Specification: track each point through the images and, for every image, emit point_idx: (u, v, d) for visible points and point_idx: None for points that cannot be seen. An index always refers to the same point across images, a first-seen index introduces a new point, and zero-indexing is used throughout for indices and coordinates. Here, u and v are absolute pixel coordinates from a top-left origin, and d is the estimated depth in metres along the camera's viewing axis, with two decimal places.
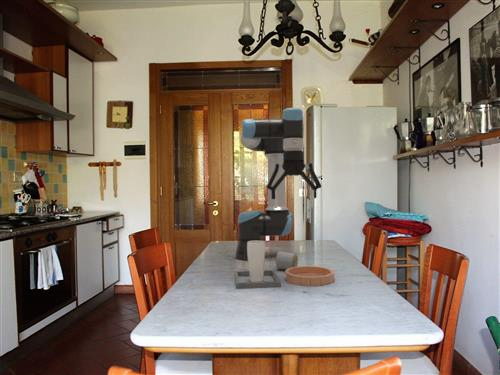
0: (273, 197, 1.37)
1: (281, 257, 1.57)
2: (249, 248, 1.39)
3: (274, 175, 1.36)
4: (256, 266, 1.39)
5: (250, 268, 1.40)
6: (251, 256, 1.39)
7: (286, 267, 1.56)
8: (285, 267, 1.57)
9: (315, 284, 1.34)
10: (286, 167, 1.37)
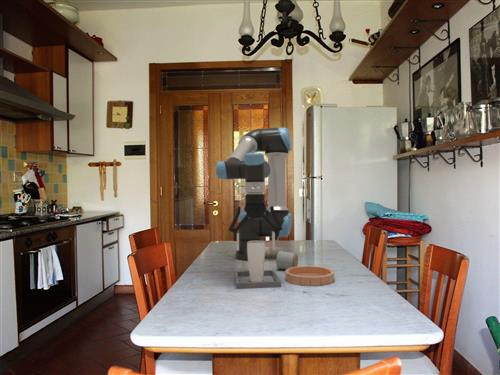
0: (235, 239, 1.40)
1: (281, 257, 1.58)
2: (249, 248, 1.39)
3: (236, 218, 1.40)
4: (256, 266, 1.39)
5: (250, 268, 1.40)
6: (251, 256, 1.39)
7: (286, 267, 1.57)
8: (285, 267, 1.57)
9: (315, 284, 1.34)
10: (248, 210, 1.40)
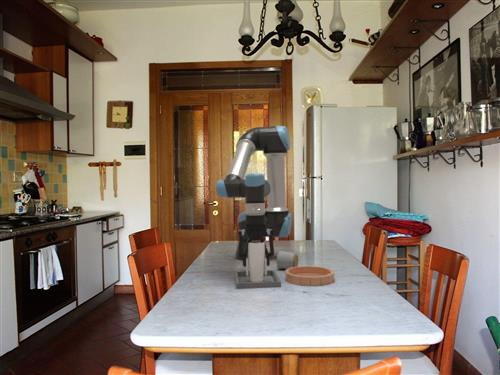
0: (244, 265, 1.41)
1: (282, 257, 1.58)
2: (249, 248, 1.39)
3: (240, 242, 1.40)
4: (256, 266, 1.39)
5: (250, 268, 1.40)
6: (251, 256, 1.39)
7: (287, 267, 1.57)
8: (286, 267, 1.58)
9: (315, 284, 1.34)
10: (248, 230, 1.40)
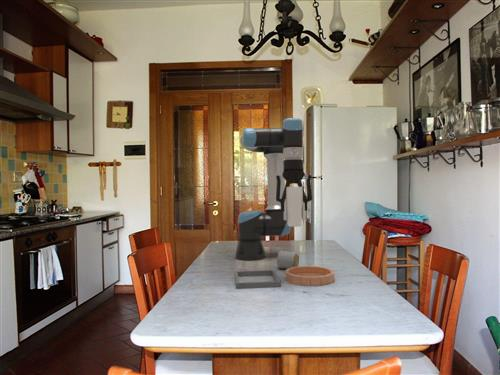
0: (282, 209, 1.41)
1: (282, 256, 1.59)
2: (287, 192, 1.40)
3: (279, 187, 1.41)
4: (294, 210, 1.39)
5: (288, 212, 1.41)
6: (289, 200, 1.40)
7: (287, 266, 1.58)
8: (286, 266, 1.58)
9: (315, 284, 1.34)
10: (286, 175, 1.41)
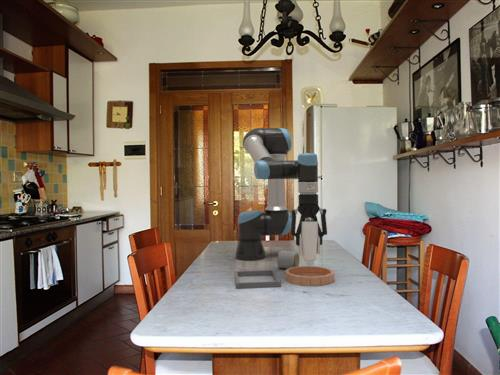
0: (297, 243, 1.42)
1: (283, 256, 1.59)
2: (303, 227, 1.41)
3: (294, 221, 1.41)
4: (310, 244, 1.40)
5: (304, 247, 1.41)
6: (305, 234, 1.40)
7: (288, 266, 1.59)
8: (287, 266, 1.59)
9: (315, 284, 1.34)
10: (302, 210, 1.42)
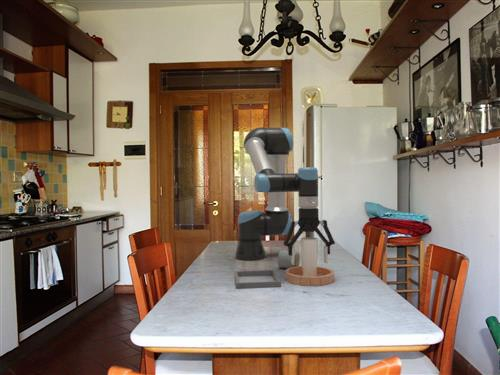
0: (290, 254, 1.42)
1: (283, 256, 1.60)
2: (303, 244, 1.41)
3: (290, 232, 1.41)
4: (310, 262, 1.40)
5: (304, 264, 1.42)
6: (305, 252, 1.41)
7: (288, 266, 1.59)
8: (287, 266, 1.59)
9: (315, 284, 1.34)
10: (302, 224, 1.42)
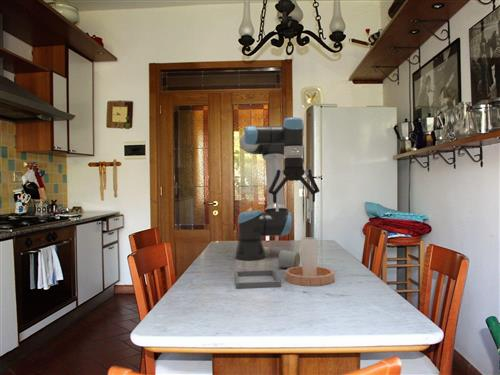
0: (274, 201, 1.46)
1: (283, 255, 1.60)
2: (303, 245, 1.41)
3: (275, 180, 1.46)
4: (310, 263, 1.40)
5: (304, 264, 1.41)
6: (305, 252, 1.40)
7: (288, 265, 1.60)
8: (287, 265, 1.60)
9: (315, 284, 1.34)
10: (287, 173, 1.46)
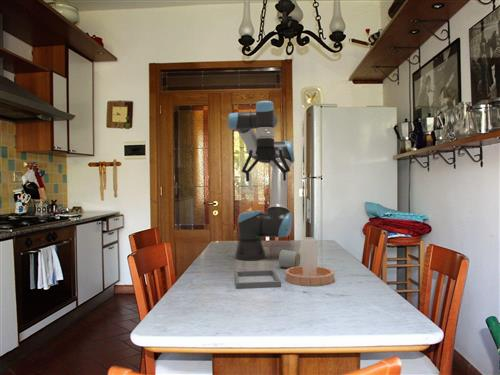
0: (247, 179, 1.55)
1: (284, 255, 1.61)
2: (303, 245, 1.41)
3: (248, 160, 1.55)
4: (310, 263, 1.40)
5: (304, 264, 1.41)
6: (305, 252, 1.40)
7: (289, 265, 1.60)
8: (288, 265, 1.60)
9: (315, 284, 1.34)
10: (259, 153, 1.55)
